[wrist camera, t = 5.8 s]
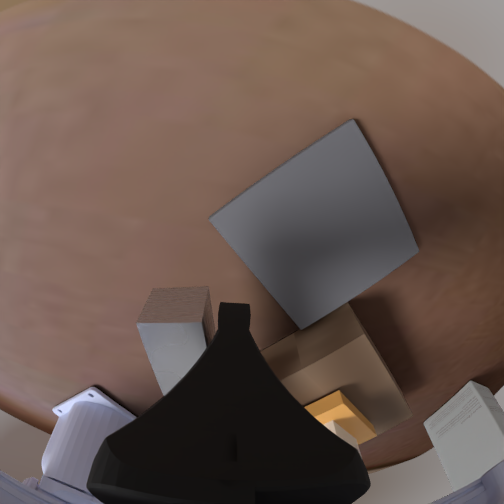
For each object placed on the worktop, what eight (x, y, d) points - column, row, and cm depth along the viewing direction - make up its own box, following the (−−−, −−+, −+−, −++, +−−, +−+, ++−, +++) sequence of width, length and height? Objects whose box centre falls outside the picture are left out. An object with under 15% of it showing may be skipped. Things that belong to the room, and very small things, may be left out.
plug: (292, 425, 21) (304, 508, 14) (245, 392, 19) (248, 494, 11) (361, 392, 19) (391, 477, 12) (326, 351, 17) (360, 459, 10)
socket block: (281, 446, 22) (284, 472, 20) (189, 386, 18) (184, 420, 16) (400, 389, 20) (413, 415, 17) (346, 300, 16) (364, 333, 13)
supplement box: (420, 422, 23) (457, 511, 12) (470, 377, 21) (522, 465, 9) (446, 426, 25) (479, 498, 13) (489, 387, 22) (532, 458, 11)
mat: (299, 324, 16) (301, 329, 16) (209, 216, 13) (208, 219, 13) (415, 247, 14) (419, 251, 14) (349, 119, 12) (353, 119, 11)
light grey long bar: (240, 442, 16) (240, 484, 13) (211, 442, 16) (208, 483, 13) (212, 267, 11) (201, 322, 8) (162, 270, 11) (136, 322, 8)
